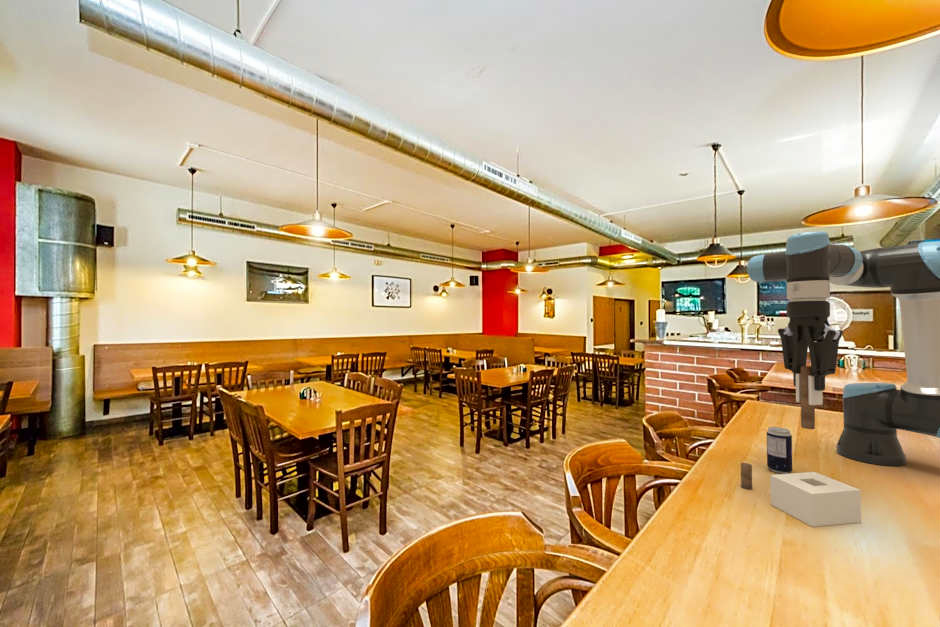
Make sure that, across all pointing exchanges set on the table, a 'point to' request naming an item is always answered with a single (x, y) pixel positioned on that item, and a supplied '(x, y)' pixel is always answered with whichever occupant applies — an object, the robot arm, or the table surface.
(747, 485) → the short pin
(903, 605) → the table surface
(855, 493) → the hole block
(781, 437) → the beverage can
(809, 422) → the long pin
